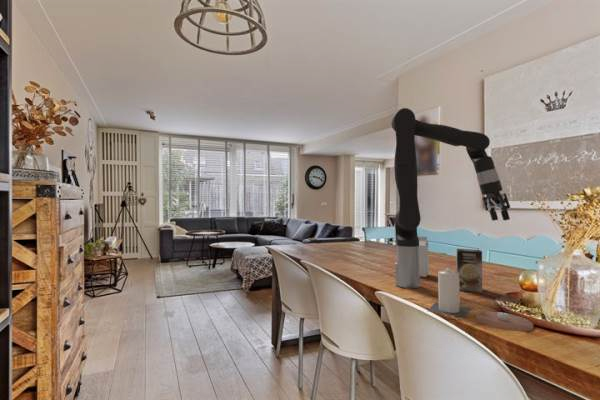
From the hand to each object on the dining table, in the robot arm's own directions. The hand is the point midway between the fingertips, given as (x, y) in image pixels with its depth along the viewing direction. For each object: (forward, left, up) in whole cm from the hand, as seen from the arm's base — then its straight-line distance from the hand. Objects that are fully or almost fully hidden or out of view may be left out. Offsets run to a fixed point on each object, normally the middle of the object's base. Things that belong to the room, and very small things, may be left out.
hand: (500, 220), depth 128 cm
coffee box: (-11, -7, -28) cm, 31 cm away
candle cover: (-12, -40, -28) cm, 50 cm away
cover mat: (-12, -40, -28) cm, 50 cm away
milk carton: (-35, +9, -28) cm, 46 cm away
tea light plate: (+3, -42, -28) cm, 51 cm away
